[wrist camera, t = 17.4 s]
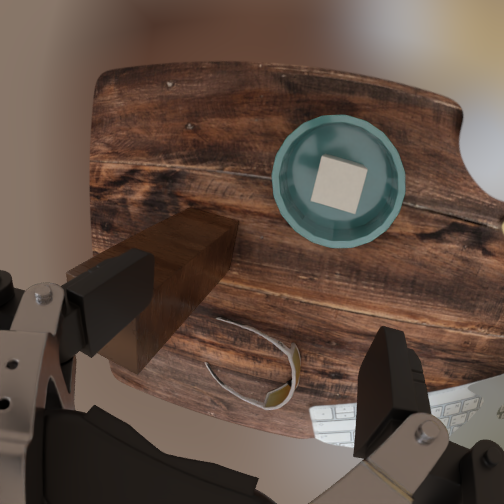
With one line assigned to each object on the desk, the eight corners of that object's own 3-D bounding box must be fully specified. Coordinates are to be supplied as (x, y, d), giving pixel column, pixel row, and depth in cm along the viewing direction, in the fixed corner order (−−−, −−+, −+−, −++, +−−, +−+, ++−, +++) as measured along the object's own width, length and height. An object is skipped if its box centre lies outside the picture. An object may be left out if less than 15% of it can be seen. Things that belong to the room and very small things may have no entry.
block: (325, 153, 33) (321, 156, 28) (363, 164, 32) (367, 169, 27) (315, 191, 35) (310, 201, 30) (353, 202, 34) (355, 214, 29)
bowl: (295, 106, 33) (287, 100, 28) (410, 139, 30) (420, 139, 26) (270, 216, 38) (259, 227, 34) (377, 248, 36) (381, 263, 31)
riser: (189, 207, 41) (65, 272, 21) (239, 221, 39) (135, 305, 20) (183, 254, 44) (74, 340, 24) (229, 269, 42) (137, 375, 22)
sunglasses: (286, 403, 48) (275, 423, 44) (209, 363, 52) (194, 379, 48) (319, 344, 42) (310, 364, 38) (227, 299, 46) (209, 314, 42)
